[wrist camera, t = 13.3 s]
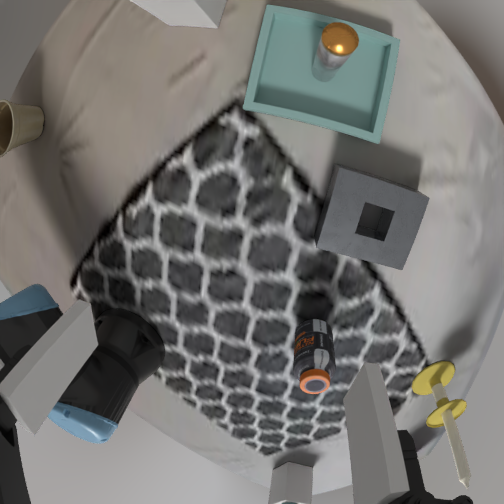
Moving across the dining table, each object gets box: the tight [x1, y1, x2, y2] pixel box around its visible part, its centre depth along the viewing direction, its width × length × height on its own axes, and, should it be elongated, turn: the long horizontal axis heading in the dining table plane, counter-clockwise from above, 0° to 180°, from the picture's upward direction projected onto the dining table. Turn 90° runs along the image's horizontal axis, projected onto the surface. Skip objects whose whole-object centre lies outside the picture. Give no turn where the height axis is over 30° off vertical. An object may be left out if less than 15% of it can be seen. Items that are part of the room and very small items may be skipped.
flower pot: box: [0, 100, 44, 157], centre depth 33 cm, size 9×9×9 cm
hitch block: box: [315, 163, 429, 270], centre depth 34 cm, size 12×10×4 cm
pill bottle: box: [293, 319, 336, 394], centre depth 40 cm, size 6×6×11 cm
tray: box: [243, 5, 400, 144], centre depth 28 cm, size 16×14×3 cm
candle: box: [412, 361, 471, 490], centre depth 34 cm, size 10×10×27 cm
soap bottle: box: [268, 462, 313, 504], centre depth 58 cm, size 9×9×19 cm
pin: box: [312, 22, 359, 82], centre depth 23 cm, size 3×3×14 cm
